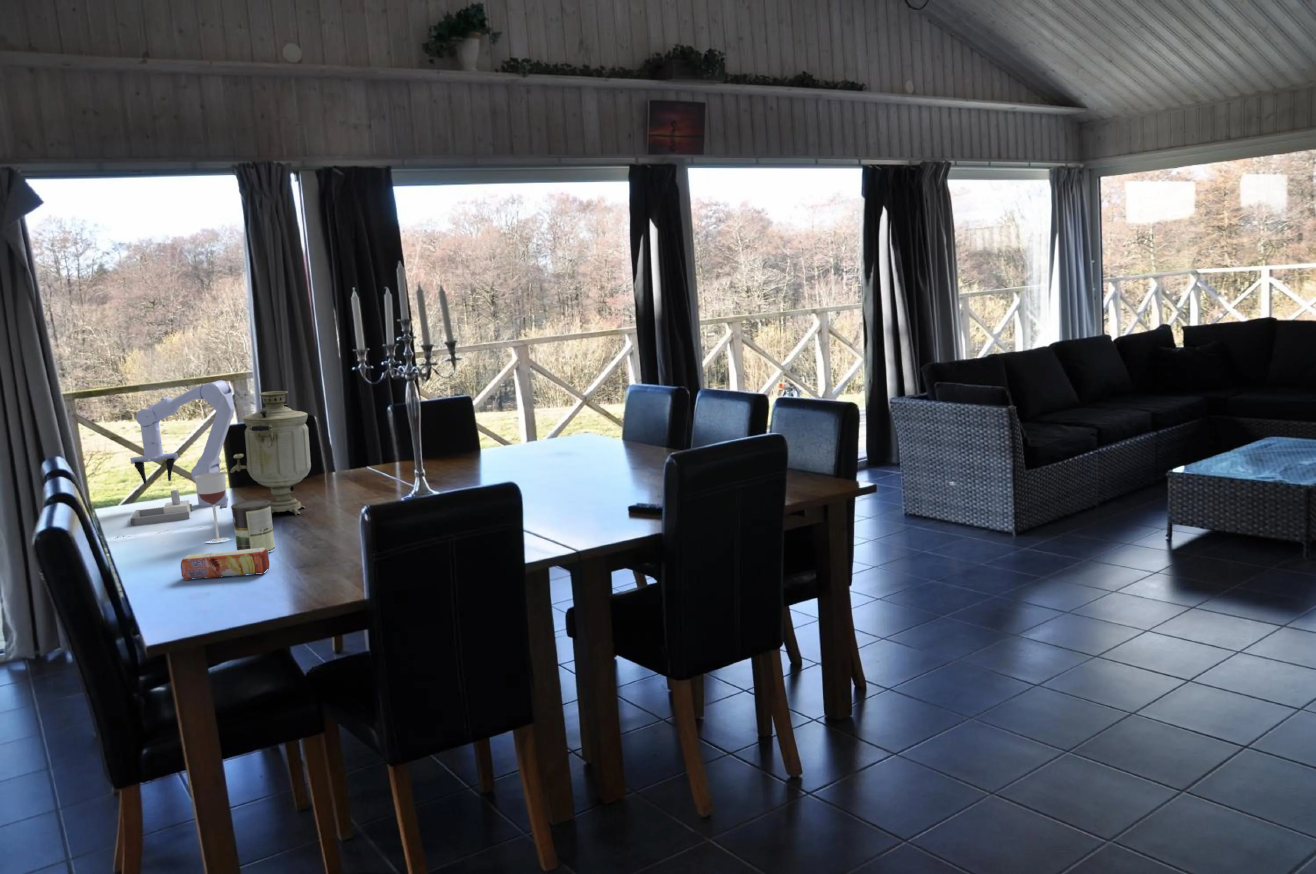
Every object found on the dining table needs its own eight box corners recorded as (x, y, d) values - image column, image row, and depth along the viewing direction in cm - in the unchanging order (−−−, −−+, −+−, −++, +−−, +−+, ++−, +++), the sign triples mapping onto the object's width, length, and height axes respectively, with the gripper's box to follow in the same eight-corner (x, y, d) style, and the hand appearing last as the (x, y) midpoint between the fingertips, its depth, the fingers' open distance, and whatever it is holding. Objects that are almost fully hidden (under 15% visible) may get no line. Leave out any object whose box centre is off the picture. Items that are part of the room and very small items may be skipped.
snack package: (180, 582, 267) (177, 557, 266) (190, 575, 273) (187, 550, 272) (264, 576, 268) (261, 551, 267) (272, 569, 274) (269, 544, 273)
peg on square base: (190, 511, 346) (187, 487, 345) (188, 517, 338) (185, 491, 337) (167, 514, 344) (164, 489, 343) (164, 520, 336) (161, 494, 334)
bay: (193, 513, 349) (191, 503, 348) (189, 522, 336) (188, 511, 335) (137, 520, 343) (135, 510, 343) (132, 529, 330) (130, 518, 330)
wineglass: (239, 537, 311) (231, 472, 308) (218, 545, 303) (209, 478, 300) (218, 536, 314) (209, 472, 311) (196, 544, 306) (188, 478, 303)
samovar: (267, 502, 360) (254, 388, 354) (336, 502, 355) (324, 386, 348) (215, 524, 331) (199, 400, 325) (289, 523, 326) (274, 397, 320)
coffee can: (232, 558, 287) (225, 508, 285) (243, 548, 297) (237, 500, 295) (270, 555, 288) (264, 506, 286) (280, 546, 298) (274, 498, 296)
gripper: (127, 446, 348) (132, 486, 351) (174, 442, 353) (179, 481, 355) (129, 444, 355) (135, 482, 357) (176, 439, 360) (181, 477, 362)
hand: (157, 481), depth 357 cm, fingers open, 7 cm apart
